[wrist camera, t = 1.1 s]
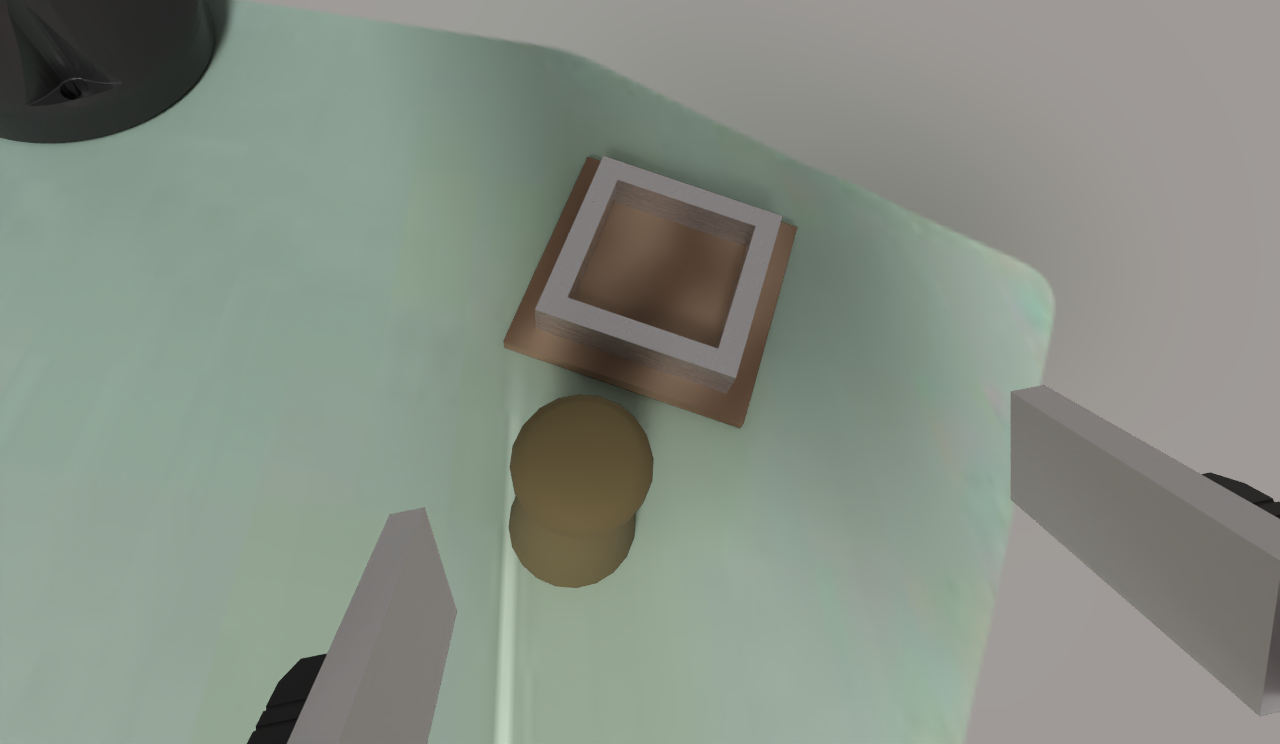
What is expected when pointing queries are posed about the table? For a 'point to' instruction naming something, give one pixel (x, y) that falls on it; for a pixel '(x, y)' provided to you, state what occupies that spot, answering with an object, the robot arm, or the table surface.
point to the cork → (577, 489)
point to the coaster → (657, 289)
